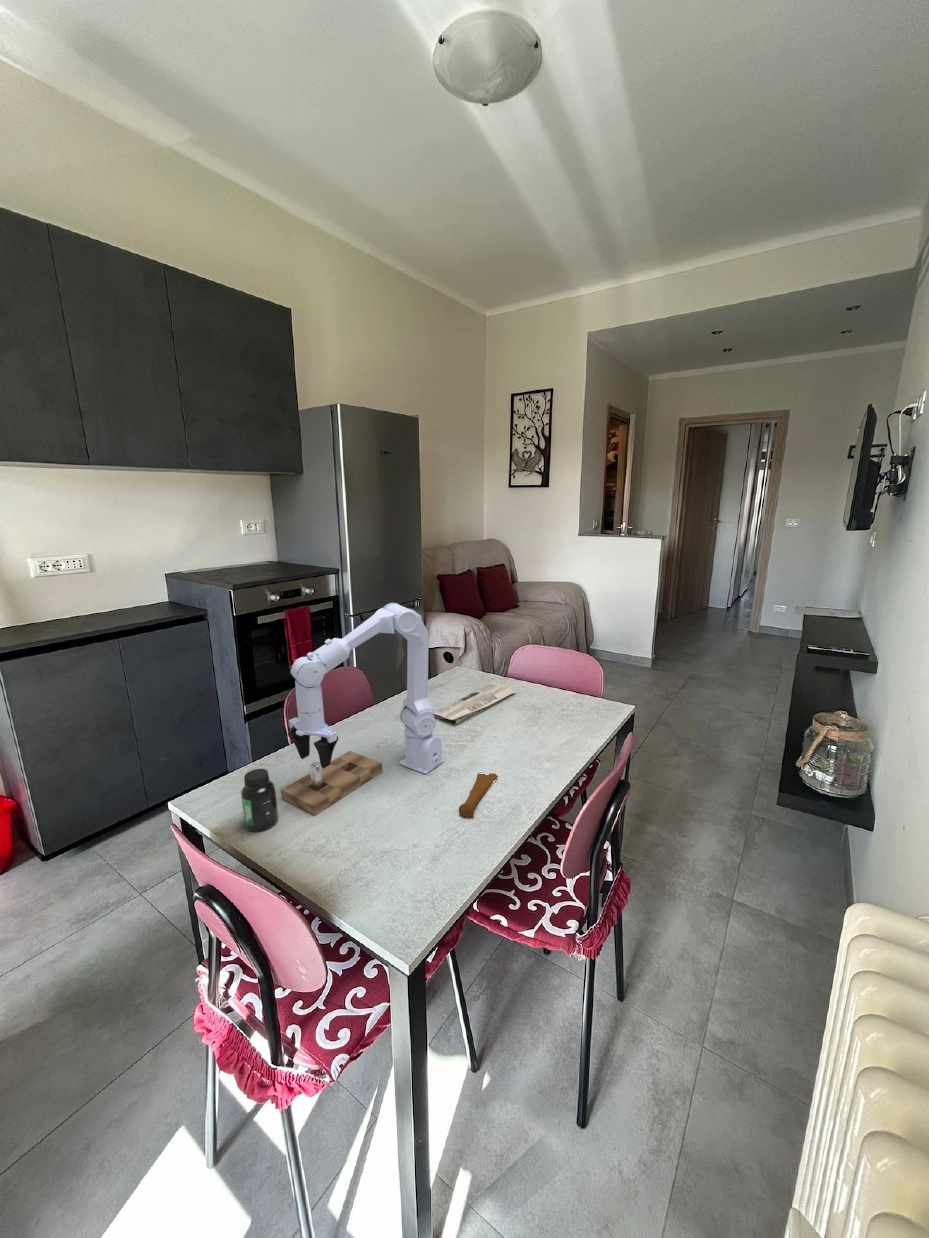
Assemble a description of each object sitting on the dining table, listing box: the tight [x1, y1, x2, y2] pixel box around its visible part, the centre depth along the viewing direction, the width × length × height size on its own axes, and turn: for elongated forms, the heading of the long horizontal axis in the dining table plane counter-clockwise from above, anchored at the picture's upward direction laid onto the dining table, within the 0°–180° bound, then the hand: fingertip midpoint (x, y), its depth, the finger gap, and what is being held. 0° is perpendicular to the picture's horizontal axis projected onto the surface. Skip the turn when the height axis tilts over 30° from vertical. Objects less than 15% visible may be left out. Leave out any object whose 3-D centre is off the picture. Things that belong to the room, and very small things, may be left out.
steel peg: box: [309, 761, 324, 791], centre depth 119 cm, size 3×3×8 cm
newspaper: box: [433, 682, 517, 725], centre depth 169 cm, size 35×12×4 cm, turn 143°
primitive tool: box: [458, 772, 499, 818], centre depth 118 cm, size 19×6×4 cm, turn 164°
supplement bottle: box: [240, 768, 279, 833], centre depth 108 cm, size 7×7×12 cm
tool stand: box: [280, 750, 384, 817], centre depth 123 cm, size 12×22×2 cm, turn 146°
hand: (315, 761), depth 117 cm, fingers open, 7 cm apart
